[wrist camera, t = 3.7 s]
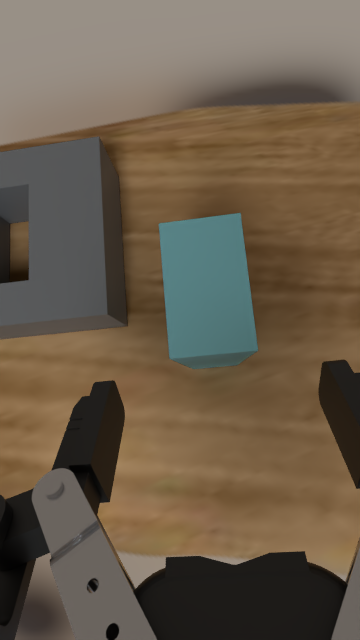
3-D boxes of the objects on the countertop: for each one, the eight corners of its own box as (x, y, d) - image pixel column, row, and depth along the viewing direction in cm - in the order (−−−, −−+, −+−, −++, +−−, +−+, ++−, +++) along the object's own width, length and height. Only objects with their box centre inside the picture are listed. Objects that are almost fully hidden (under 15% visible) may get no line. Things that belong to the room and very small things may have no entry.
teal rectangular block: (228, 294, 24) (240, 212, 12) (237, 365, 23) (258, 350, 11) (187, 299, 24) (158, 223, 12) (193, 369, 23) (169, 358, 11)
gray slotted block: (118, 176, 26) (99, 136, 22) (127, 326, 24) (107, 314, 20) (-46, 200, 28) (-96, 167, 23) (-52, 344, 26) (-108, 337, 21)
